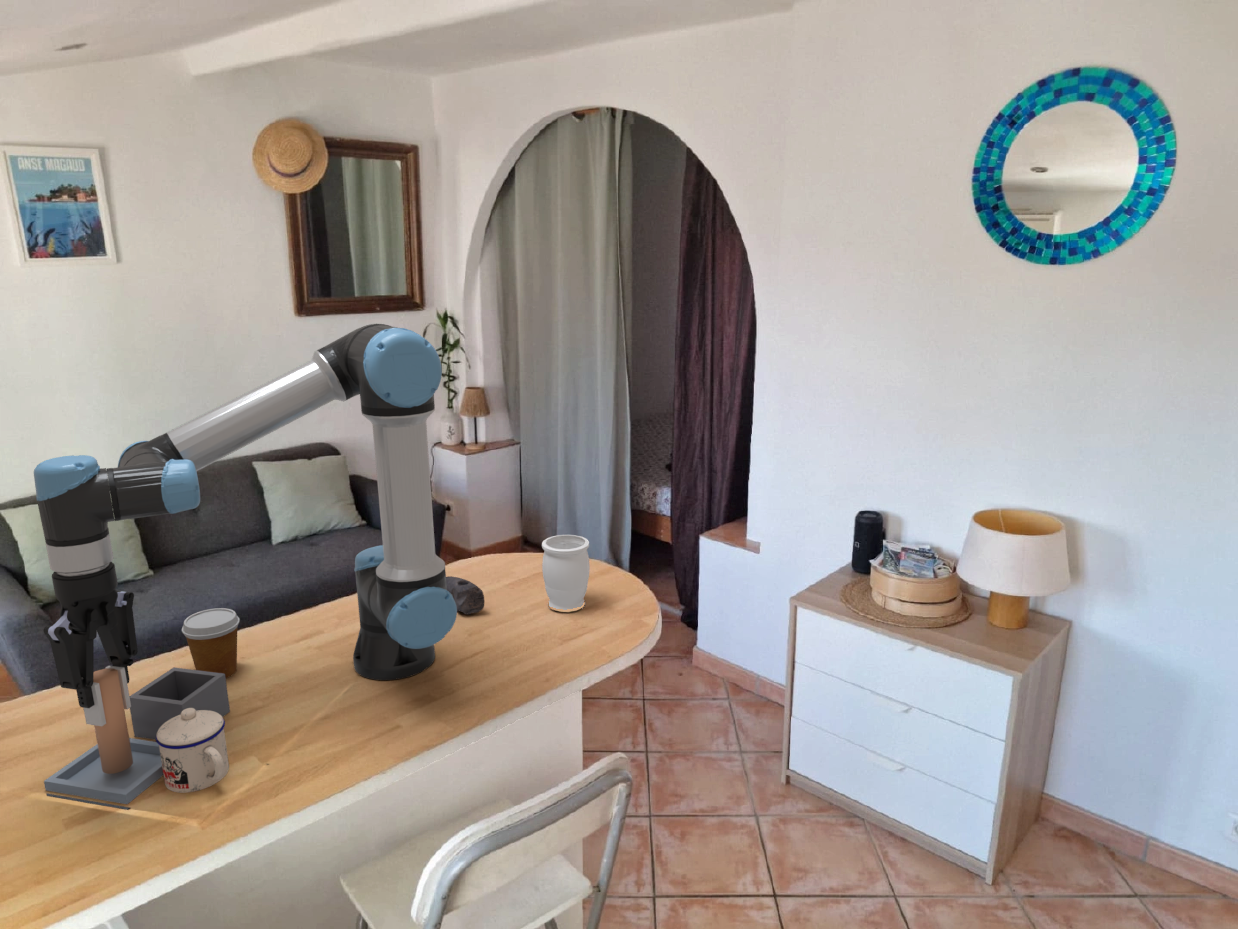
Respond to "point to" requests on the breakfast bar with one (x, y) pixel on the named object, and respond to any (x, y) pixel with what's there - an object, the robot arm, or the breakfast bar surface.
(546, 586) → the jar
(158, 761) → the tray
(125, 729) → the dowel
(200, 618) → the disposable coffee cup
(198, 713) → the teacup with lid
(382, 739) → the breakfast bar surface
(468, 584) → the perforated stone tool
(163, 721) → the open square box
